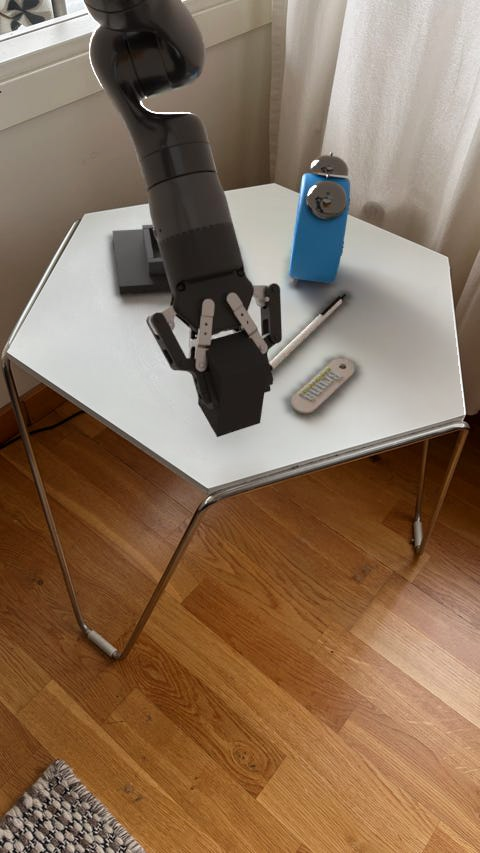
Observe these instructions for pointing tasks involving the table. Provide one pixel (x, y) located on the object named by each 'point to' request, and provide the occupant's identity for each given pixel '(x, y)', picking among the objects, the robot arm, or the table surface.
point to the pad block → (236, 383)
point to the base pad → (139, 261)
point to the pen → (306, 332)
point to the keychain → (322, 386)
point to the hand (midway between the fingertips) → (239, 398)
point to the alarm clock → (320, 221)
